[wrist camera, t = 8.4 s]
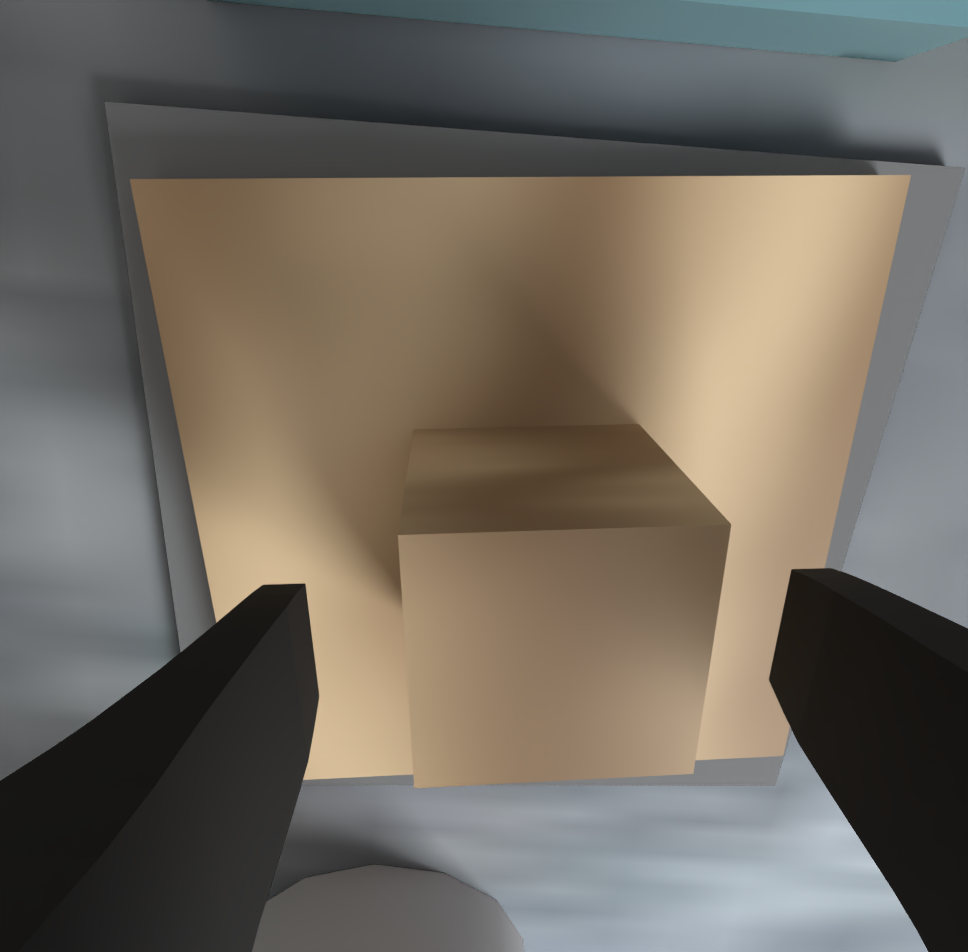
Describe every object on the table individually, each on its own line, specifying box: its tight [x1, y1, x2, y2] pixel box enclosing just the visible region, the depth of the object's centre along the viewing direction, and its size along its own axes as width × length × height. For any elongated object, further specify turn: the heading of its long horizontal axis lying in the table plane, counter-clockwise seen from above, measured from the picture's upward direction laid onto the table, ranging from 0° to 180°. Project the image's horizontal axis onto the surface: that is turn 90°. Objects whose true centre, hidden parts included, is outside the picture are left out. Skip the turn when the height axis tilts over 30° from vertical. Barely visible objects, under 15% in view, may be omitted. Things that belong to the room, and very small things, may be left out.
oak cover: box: [130, 175, 911, 788], centre depth 11 cm, size 12×12×5 cm
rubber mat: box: [104, 102, 965, 786], centre depth 13 cm, size 14×14×1 cm
